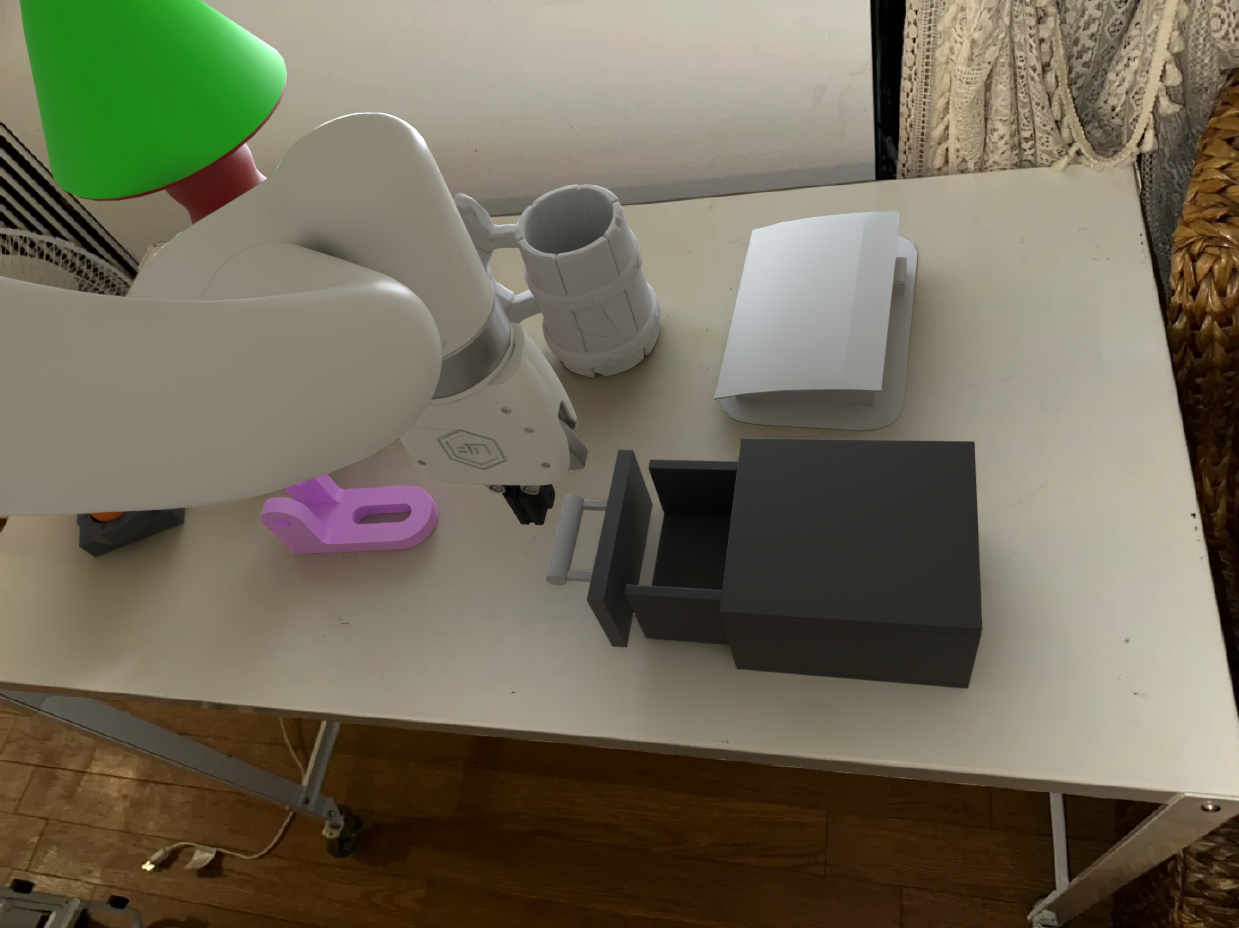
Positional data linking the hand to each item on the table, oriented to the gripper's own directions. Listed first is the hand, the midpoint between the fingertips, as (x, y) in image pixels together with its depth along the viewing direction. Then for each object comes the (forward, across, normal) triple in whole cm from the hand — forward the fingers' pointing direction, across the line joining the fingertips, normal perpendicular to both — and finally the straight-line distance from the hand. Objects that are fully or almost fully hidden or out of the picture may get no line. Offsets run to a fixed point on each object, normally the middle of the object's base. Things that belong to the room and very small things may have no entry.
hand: (537, 507), depth 65 cm
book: (+10, +18, +26) cm, 33 cm away
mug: (+10, -5, +25) cm, 27 cm away
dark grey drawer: (+9, +10, 0) cm, 13 cm away
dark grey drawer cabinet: (+10, +22, 0) cm, 24 cm away
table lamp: (+10, -30, +23) cm, 40 cm away
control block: (+10, -46, +7) cm, 48 cm away
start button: (+6, -44, +2) cm, 44 cm away
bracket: (+10, -20, +4) cm, 23 cm away
